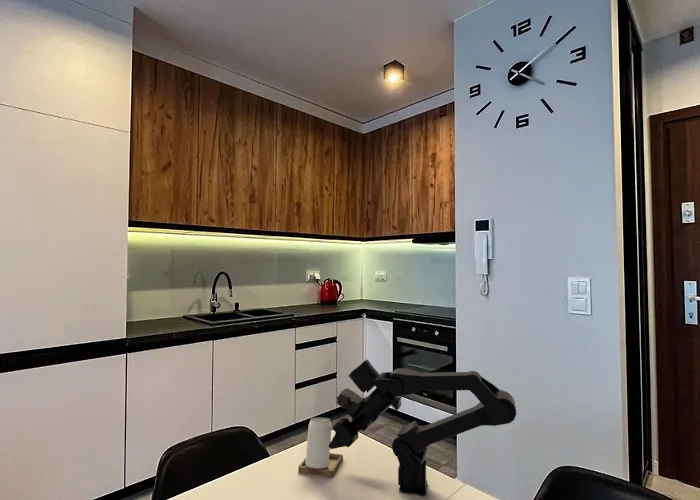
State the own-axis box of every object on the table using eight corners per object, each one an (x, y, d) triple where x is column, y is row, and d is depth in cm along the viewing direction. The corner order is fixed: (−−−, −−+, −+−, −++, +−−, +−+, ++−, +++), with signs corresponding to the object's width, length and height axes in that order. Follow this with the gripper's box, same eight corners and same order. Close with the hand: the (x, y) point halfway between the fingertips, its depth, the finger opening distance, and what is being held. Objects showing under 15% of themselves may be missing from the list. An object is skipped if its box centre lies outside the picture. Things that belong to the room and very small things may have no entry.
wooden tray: (342, 459, 110) (342, 454, 111) (332, 477, 101) (332, 471, 101) (311, 455, 113) (311, 450, 113) (298, 472, 103) (298, 466, 104)
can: (326, 470, 101) (330, 421, 105) (302, 468, 102) (307, 419, 105) (330, 464, 108) (333, 418, 111) (307, 462, 108) (311, 416, 112)
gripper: (367, 372, 113) (334, 405, 117) (339, 390, 96) (302, 428, 100) (393, 403, 109) (358, 436, 113) (369, 428, 92) (328, 465, 96)
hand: (337, 440), depth 105 cm, fingers open, 9 cm apart
